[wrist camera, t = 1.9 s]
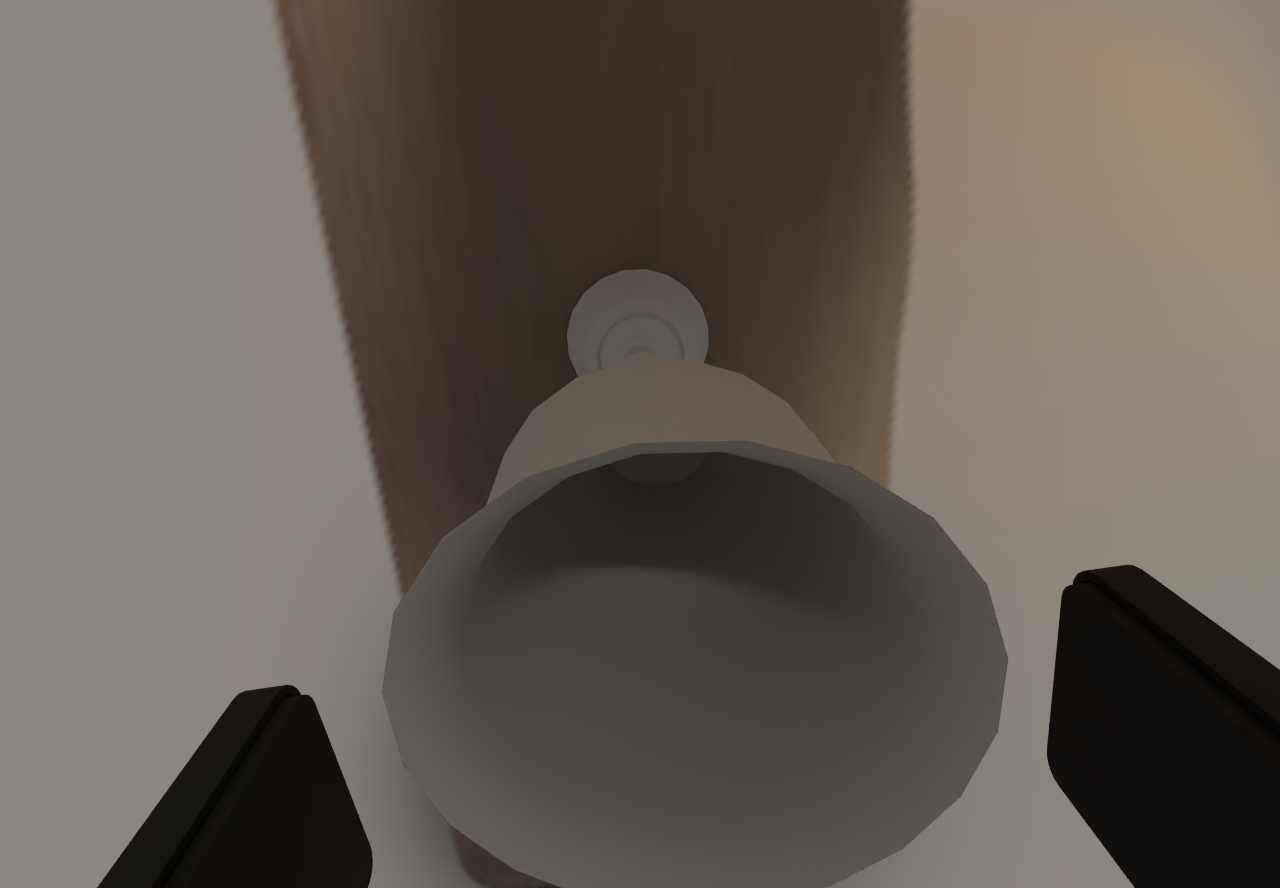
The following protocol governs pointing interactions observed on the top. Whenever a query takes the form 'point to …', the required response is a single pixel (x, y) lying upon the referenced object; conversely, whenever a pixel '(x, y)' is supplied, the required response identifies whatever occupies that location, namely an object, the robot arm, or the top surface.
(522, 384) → the top surface
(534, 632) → the chalice
